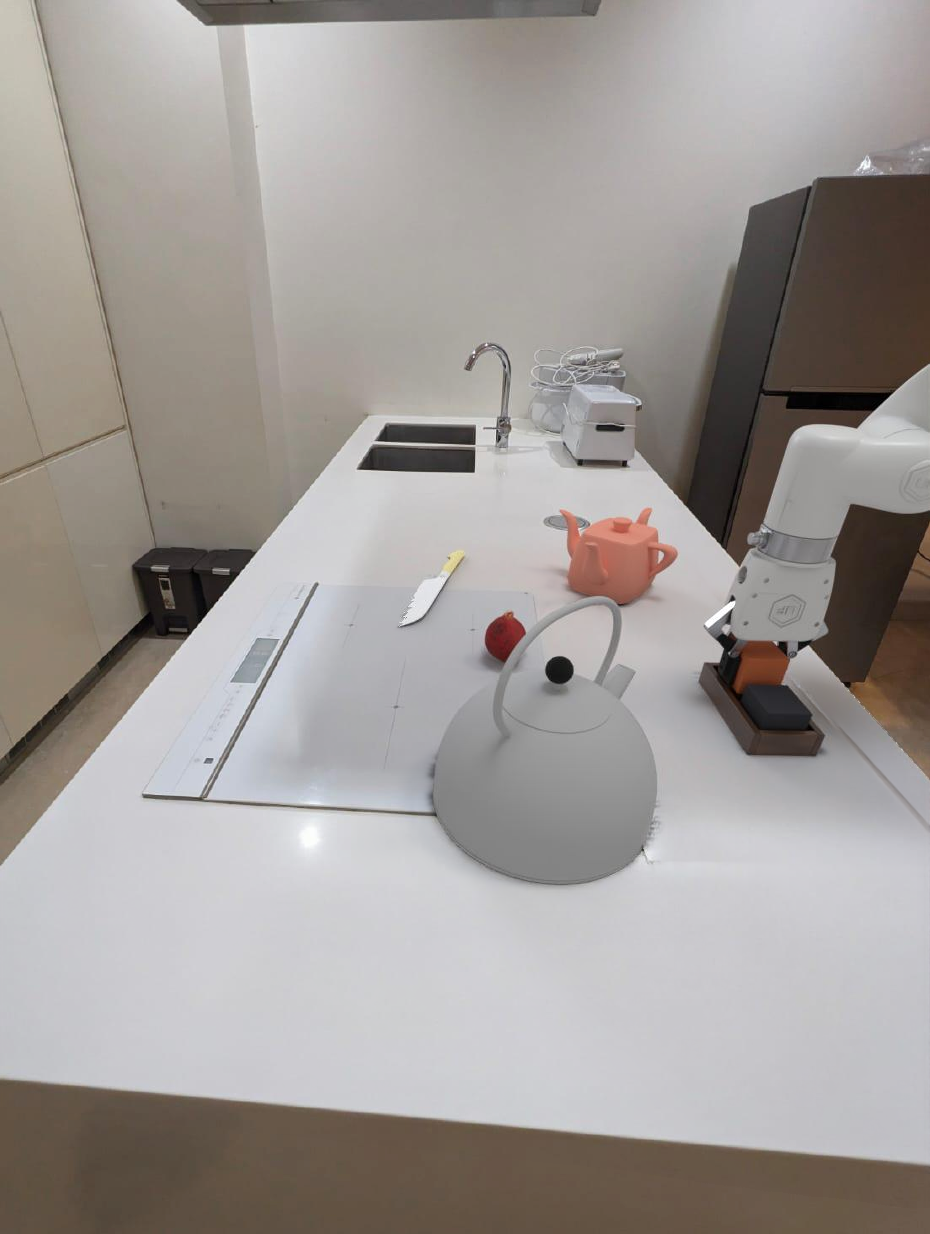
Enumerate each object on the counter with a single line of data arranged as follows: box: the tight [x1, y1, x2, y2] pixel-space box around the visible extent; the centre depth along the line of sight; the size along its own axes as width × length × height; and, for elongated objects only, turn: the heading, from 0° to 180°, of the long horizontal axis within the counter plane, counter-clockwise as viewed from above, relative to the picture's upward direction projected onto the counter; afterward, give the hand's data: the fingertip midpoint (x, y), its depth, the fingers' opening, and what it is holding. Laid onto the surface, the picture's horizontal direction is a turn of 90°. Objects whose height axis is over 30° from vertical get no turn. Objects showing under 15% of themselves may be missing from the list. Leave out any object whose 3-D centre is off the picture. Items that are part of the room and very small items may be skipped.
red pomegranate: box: [484, 609, 527, 663], centre depth 88 cm, size 6×6×8 cm
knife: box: [399, 549, 466, 627], centre depth 111 cm, size 1×33×5 cm
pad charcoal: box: [740, 684, 814, 731], centre depth 75 cm, size 5×6×5 cm
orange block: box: [732, 641, 791, 694], centre depth 79 cm, size 5×6×5 cm
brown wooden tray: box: [698, 661, 826, 757], centre depth 78 cm, size 8×16×4 cm, turn 0°
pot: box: [558, 507, 679, 605], centre depth 109 cm, size 18×17×12 cm
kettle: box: [432, 596, 658, 885], centre depth 61 cm, size 25×23×22 cm
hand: (748, 678), depth 80 cm, fingers closed on orange block, 5 cm apart
